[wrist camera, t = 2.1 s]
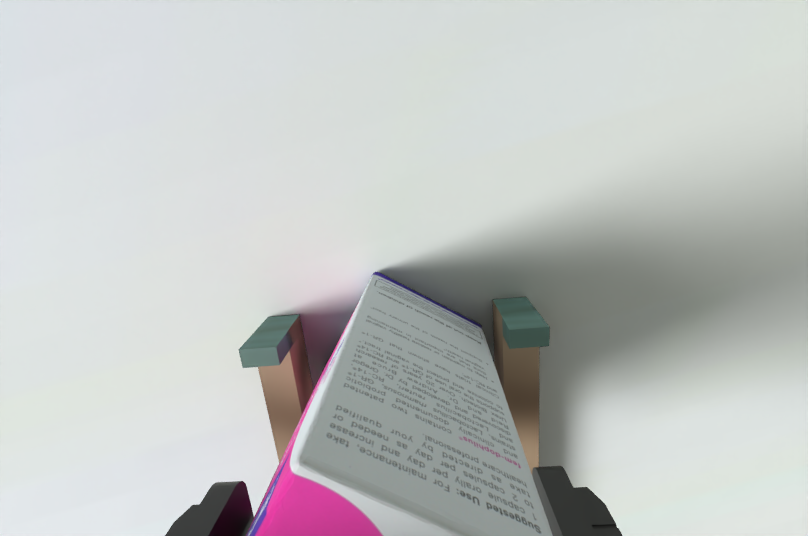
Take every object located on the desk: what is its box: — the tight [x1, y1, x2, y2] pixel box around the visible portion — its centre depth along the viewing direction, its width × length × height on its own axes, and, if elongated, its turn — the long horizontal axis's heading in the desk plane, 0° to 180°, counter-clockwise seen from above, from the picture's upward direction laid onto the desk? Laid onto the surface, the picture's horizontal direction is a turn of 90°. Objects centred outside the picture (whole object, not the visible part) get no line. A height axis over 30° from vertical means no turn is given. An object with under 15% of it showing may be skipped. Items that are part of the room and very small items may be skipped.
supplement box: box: [246, 272, 553, 536], centre depth 13 cm, size 6×6×12 cm
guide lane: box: [239, 297, 550, 474], centre depth 18 cm, size 20×12×5 cm, turn 5°
